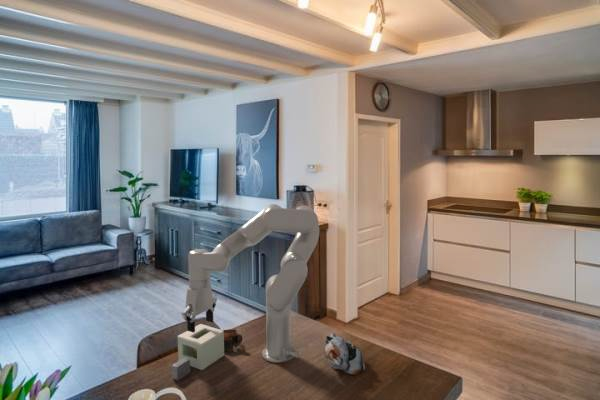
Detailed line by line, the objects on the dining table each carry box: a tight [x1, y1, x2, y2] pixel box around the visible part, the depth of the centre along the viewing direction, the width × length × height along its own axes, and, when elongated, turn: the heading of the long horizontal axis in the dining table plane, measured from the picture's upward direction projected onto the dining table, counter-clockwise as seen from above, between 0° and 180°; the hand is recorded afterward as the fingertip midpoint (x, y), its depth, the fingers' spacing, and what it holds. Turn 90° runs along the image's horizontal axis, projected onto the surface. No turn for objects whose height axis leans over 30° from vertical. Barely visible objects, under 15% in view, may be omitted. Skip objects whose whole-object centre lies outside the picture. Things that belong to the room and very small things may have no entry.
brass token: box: [193, 348, 197, 359], centre depth 146 cm, size 2×6×5 cm, turn 150°
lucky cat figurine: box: [324, 332, 366, 376], centre depth 139 cm, size 15×12×14 cm
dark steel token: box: [171, 358, 191, 381], centre depth 135 cm, size 2×6×5 cm, turn 150°
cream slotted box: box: [177, 323, 225, 371], centre depth 146 cm, size 12×12×10 cm
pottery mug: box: [222, 328, 243, 352], centre depth 155 cm, size 12×10×8 cm
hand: (200, 326), depth 145 cm, fingers open, 9 cm apart
